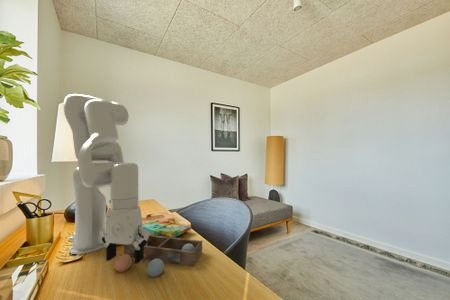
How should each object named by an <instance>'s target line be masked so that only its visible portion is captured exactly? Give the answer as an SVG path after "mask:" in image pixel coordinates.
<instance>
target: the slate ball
mask: <svg viewBox="0 0 450 300" xmlns="http://www.w3.org/2000/svg"><path fill="white" fill-rule="evenodd" d="M164 265H165V263H163V261H162V260H161V259H153V260H152V261H150V262H149V263H148V264H147V268H146V272H147V274H148V276H149V277H151V278H156V277H158V276H160V275H161V274H162V273H163V271H164V267H165V266H164Z"/></svg>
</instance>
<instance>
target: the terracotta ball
mask: <svg viewBox="0 0 450 300" xmlns="http://www.w3.org/2000/svg"><path fill="white" fill-rule="evenodd" d="M114 261H115V262H114V269H115V270H116V271H117V272H119V273H120V272H121V273H123V272H126V271H127V270H129V268H130V267H131V266H132V262H133V258H131V257H130V256H129V255H128V254H124V253H123V254H121V255H119V256H118V257H117V258H116V259H115V260H114Z"/></svg>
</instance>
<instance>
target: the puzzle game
mask: <svg viewBox="0 0 450 300" xmlns="http://www.w3.org/2000/svg"><path fill="white" fill-rule="evenodd" d="M143 228H144V229H146V230H147V231H149V232H150V233H151V235H153V236H162V237H171V238H178V236H180V235H182V234H185V233H187V232H188V231H190V230H191V229H192V226H190V225H187V224H183V223H179V222H176V221H173V220H169V219H167V218H163V217H160V218H157V219H155V220H153V221H150V222H146V223H144V224H143Z"/></svg>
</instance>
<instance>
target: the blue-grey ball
mask: <svg viewBox="0 0 450 300" xmlns="http://www.w3.org/2000/svg"><path fill="white" fill-rule="evenodd" d="M194 248H195V247H194V246H193V245H192V244H190V243H188V244H185V245H184V246H183V248H182V250H185V251H193V250H194Z"/></svg>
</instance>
